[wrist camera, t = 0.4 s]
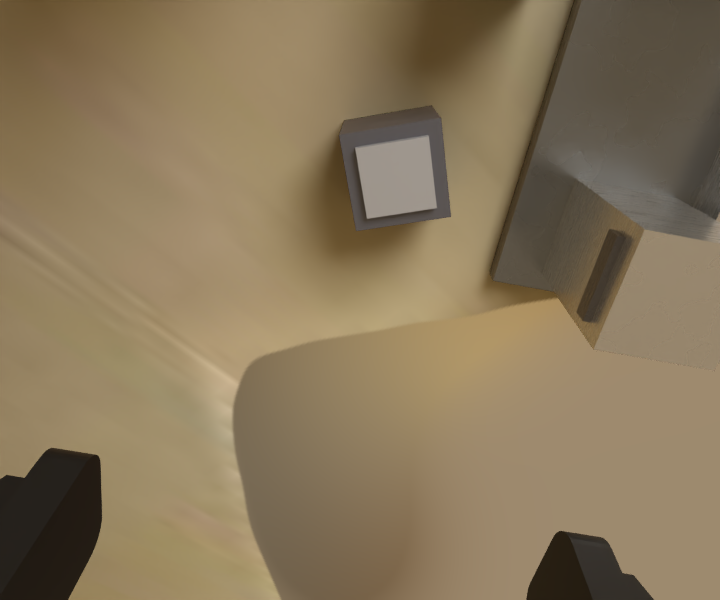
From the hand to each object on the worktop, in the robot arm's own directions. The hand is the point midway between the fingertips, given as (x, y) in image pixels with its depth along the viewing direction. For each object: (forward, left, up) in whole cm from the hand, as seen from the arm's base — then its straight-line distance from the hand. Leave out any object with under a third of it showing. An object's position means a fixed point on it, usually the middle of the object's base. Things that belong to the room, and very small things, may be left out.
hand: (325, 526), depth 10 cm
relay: (-1, +2, -26) cm, 26 cm away
